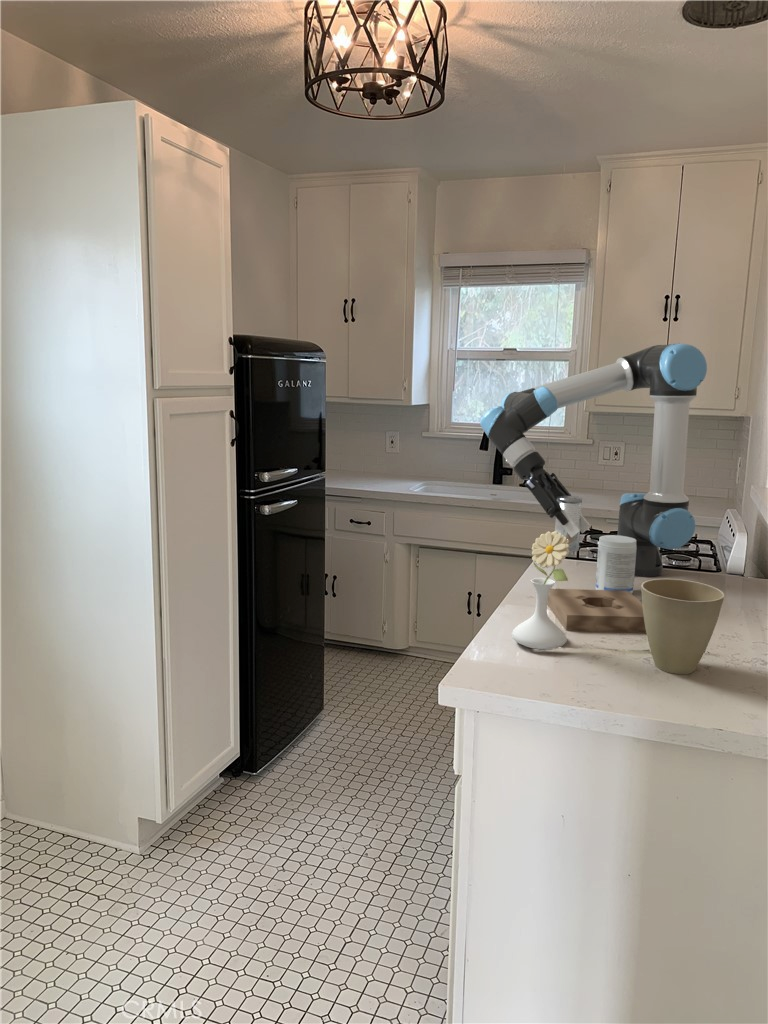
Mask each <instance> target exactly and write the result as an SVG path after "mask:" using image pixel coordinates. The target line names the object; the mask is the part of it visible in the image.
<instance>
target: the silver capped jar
mask: <svg viewBox="0 0 768 1024" xmlns="http://www.w3.org/2000/svg"><path fill="white" fill-rule="evenodd" d="M557 502H558V504H559V506H560V507H561V509H562V510H565V511H566V513H567V514H568V515H569V516H570V518H571V519H572V520H573V521H574V523H575V524H576V525H577V527H578V528H579V529H580V521H581V514H582V504H583V503H582V502H583V497H581V496H576V495H571V496H558V497H557ZM562 510H561V511H562ZM554 531H557V532H558V533H561V535H563V536H564V537H566V539H567V540H568V541H569V542H568V545H569V547H568V548H567V549H568V550H569V553H571V552H578V551H580V550H579V549H580V533H581V531H580V532H578V533H577V534H576V535H575V536H573V537H572V538H571V537H570V535H569V534H568V533H567V531H566V530H565V529H564V528H563V526H562V525H561V524H560V522H559V521H558V520H557V519H556V518H555V525H554Z"/></svg>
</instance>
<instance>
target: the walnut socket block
mask: <svg viewBox="0 0 768 1024" xmlns="http://www.w3.org/2000/svg"><path fill="white" fill-rule="evenodd" d="M547 608H549V609H550V611H551V612H552V614H553V615H554V616H555V618H556V620H557V621H558V622H559V623H560V624H561V626H562V627H563V628H564V630H565V631H567V632H569V631H570V632H571V631H572V632H574V631H575V632H609V633H610V632H611V633H614V632H615V633H642V634H643V633H645V634H647V633H646V628H645V622H644V615H643V606H642V601H640V600H639V599H638V598H637V597H636V596H634V595H633V593H630V592H629V591H620V590H596V589H578V588H577V589H573V588H551V590H550V592H549V595H548V600H547Z"/></svg>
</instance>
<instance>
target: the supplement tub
mask: <svg viewBox="0 0 768 1024" xmlns="http://www.w3.org/2000/svg"><path fill="white" fill-rule="evenodd" d="M636 546H637V545H636V539H634V538H631V537H626V536H619V535H617V534H606V535H601V536H600V537H599V541H598V545H597V560H596V561H597V562H596V573H595V574H596V575H595V587H594V588H595V589H594V590H620V591H629V592H630V593H631V594H633V593H634V586H635V576H634V575H635V563H636V549H637V547H636Z"/></svg>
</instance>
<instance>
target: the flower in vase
mask: <svg viewBox="0 0 768 1024" xmlns="http://www.w3.org/2000/svg"><path fill="white" fill-rule="evenodd" d="M568 542H569V541H568V540H567V539H566V537H564V536H563V535H561V533H558V532H557V531H555V530H554V531H552V532H551V531H546V533H541V534H540V536H539V537H536V538H535V542H534V543H532V547H531V555H532V557H531V560H532V561H533V566H534V568H536V569H537V571H539V572H541V574H544V575H545V576H547V577H535V578H532V579H530V582H531V584H532V585H533V587H534V591H535V610H534V612H533V615H532V616H530V617H528V619H526V620H524V621H522V622H521V623H519V624H517V626H515V628H513V630H512V631H511V637H512V639H513V640H514V641H515V642H516V643H518V644H519V645H522V646H523V647H527V648H531V649H537V650H552V649H553V650H554V649H557V648H561V647H562V646H564V645H565V644H566V643H567V641H568V638H567V635H566V633H565V632H564V631H563V630H562V629H561V627H559V626H558V625H557V624H556V623H555V622H554V621H553V620H552V619H550V617H549V615H548V611H547V608H548V605H547V600H548V595H549V592H550V590H551V589H553V587H554V586H555V584H557V583H556V582H566V581H567V582H568V581H569V580H568V576H567V575H566V573H565V571H564V569H562V568H556V567H557V566H558V565H560V564H561V563H562V561H563V560H565V559H566V557H567V555H568V554H569V553H570V552H569V550H568V549H567V548H568V547H569V545H568ZM538 565H539V566H538ZM550 567H552V570H551V571H550V573H549V574H547V572H546V571H545V570H544V569H545V568H547V569H549V568H550ZM552 575H553V578H554V580H553V579H551V578H550V577H551V576H552Z"/></svg>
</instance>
